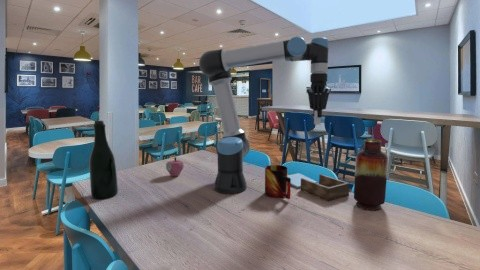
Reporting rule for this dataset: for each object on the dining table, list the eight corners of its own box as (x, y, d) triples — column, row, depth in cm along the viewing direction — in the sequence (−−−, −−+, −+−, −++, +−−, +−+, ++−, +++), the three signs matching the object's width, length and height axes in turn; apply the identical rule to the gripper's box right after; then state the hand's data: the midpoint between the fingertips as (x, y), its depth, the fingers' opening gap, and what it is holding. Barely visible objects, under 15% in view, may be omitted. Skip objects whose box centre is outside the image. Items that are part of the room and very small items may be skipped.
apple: (164, 175, 147) (163, 157, 145) (178, 172, 153) (177, 155, 151) (172, 179, 140) (171, 160, 138) (187, 176, 146) (186, 158, 144)
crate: (300, 190, 123) (300, 178, 122) (320, 185, 130) (320, 174, 129) (328, 201, 110) (328, 188, 109) (348, 195, 116) (349, 183, 116)
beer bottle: (122, 195, 118) (116, 120, 113) (96, 201, 111) (89, 122, 106) (112, 189, 125) (107, 119, 120) (87, 195, 118) (81, 120, 113)
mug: (289, 202, 109) (289, 173, 107) (260, 195, 117) (260, 168, 116) (299, 195, 117) (300, 168, 115) (271, 188, 125) (272, 163, 123)
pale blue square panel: (279, 178, 136) (279, 177, 136) (298, 175, 142) (298, 173, 142) (297, 188, 125) (297, 186, 125) (317, 183, 132) (317, 181, 131)
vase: (347, 203, 108) (350, 139, 104) (367, 199, 112) (371, 137, 108) (369, 214, 98) (374, 143, 94) (391, 209, 102) (396, 141, 98)
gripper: (336, 72, 120) (333, 125, 123) (314, 74, 131) (312, 122, 134) (324, 71, 116) (322, 126, 119) (302, 74, 127) (301, 123, 130)
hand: (317, 124), depth 127 cm, fingers closed
